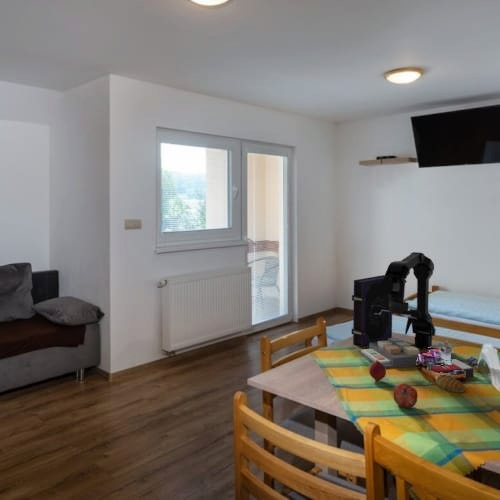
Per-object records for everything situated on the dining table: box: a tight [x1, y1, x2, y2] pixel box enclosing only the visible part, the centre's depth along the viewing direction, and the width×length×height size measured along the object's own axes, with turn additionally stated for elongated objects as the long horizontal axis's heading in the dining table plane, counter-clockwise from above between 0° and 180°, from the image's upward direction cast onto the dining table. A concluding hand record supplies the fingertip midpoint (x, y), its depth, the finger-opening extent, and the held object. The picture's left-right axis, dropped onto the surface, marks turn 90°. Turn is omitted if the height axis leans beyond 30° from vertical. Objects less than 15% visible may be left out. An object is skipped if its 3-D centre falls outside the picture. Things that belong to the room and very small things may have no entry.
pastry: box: [435, 375, 466, 393], centre depth 161 cm, size 9×7×4 cm
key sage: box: [395, 341, 411, 351], centre depth 194 cm, size 4×4×3 cm
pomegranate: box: [392, 382, 419, 409], centre depth 148 cm, size 7×7×10 cm
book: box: [351, 274, 393, 348], centre depth 218 cm, size 24×6×30 cm, turn 130°
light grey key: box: [378, 340, 392, 349], centre depth 196 cm, size 4×4×3 cm
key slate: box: [387, 337, 404, 345], centre depth 200 cm, size 4×4×3 cm
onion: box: [368, 360, 387, 382], centre depth 168 cm, size 6×6×8 cm
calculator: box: [431, 358, 475, 379], centre depth 175 cm, size 11×4×15 cm
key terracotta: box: [385, 345, 400, 354], centre depth 190 cm, size 4×4×3 cm
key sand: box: [403, 345, 420, 355], centre depth 188 cm, size 4×4×3 cm
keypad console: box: [357, 342, 418, 369], centre depth 193 cm, size 19×21×4 cm
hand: (393, 333), depth 184 cm, fingers open, 9 cm apart
